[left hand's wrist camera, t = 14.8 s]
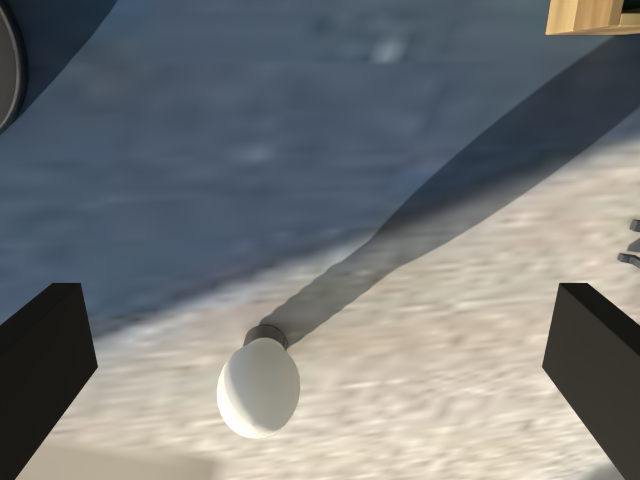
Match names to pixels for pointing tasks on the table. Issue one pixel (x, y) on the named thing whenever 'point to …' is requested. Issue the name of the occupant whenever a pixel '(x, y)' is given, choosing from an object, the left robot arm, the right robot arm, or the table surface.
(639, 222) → the toy
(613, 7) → the peg board
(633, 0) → the peg
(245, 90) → the table surface
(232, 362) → the light bulb
